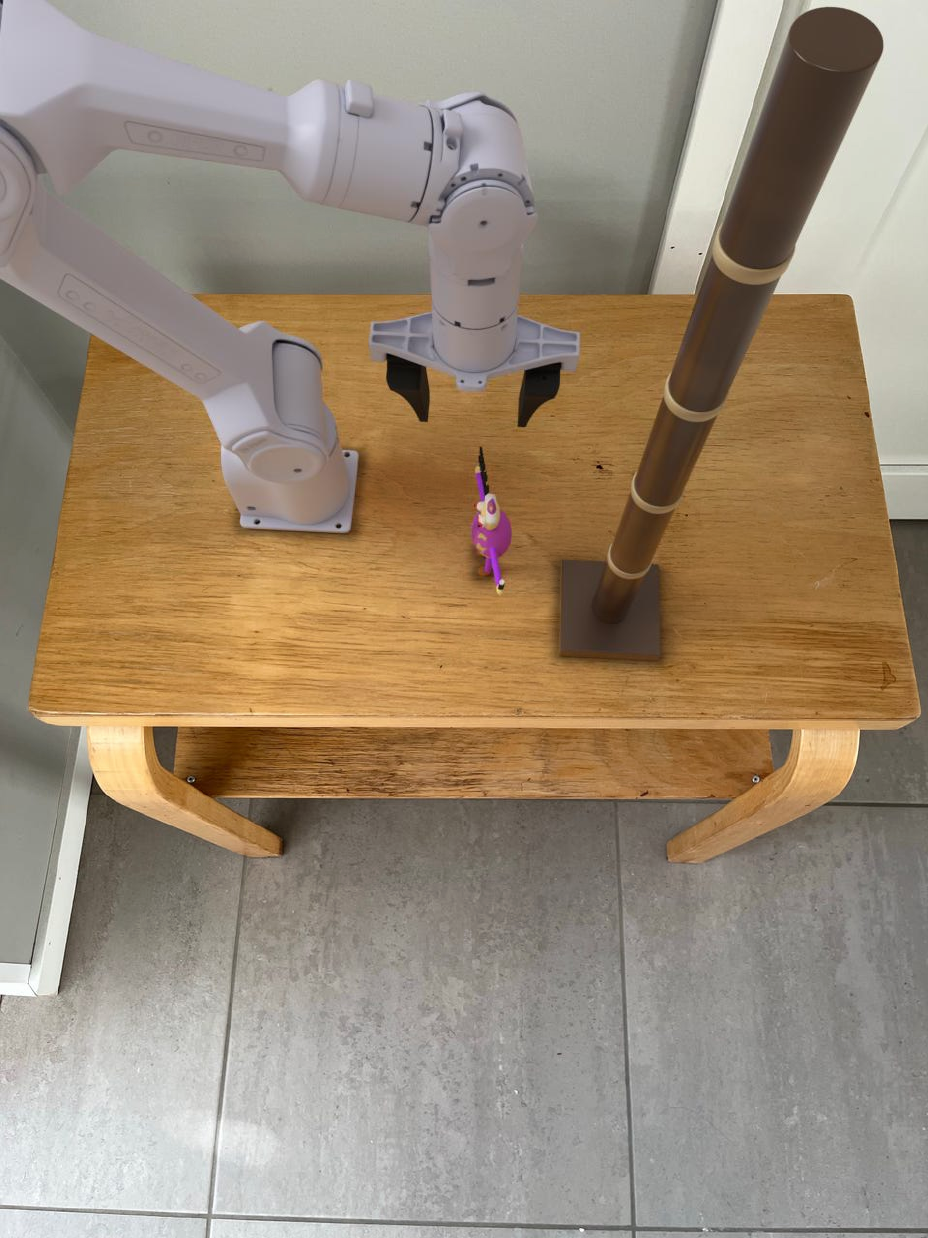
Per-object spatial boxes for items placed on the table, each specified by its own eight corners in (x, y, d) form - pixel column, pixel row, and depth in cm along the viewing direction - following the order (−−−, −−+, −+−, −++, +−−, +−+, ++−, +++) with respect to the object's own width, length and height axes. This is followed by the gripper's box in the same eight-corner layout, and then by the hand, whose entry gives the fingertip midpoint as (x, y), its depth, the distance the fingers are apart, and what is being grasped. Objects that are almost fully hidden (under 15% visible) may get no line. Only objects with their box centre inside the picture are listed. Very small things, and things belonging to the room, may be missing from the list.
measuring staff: (558, 656, 74) (716, 125, 28) (560, 566, 77) (705, -51, 31) (657, 661, 74) (982, 136, 28) (655, 571, 77) (947, -43, 30)
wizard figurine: (461, 507, 79) (460, 430, 68) (497, 502, 79) (503, 425, 68) (481, 627, 75) (484, 567, 64) (519, 621, 75) (529, 560, 64)
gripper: (356, 338, 58) (376, 452, 70) (586, 350, 57) (564, 463, 70) (367, 250, 60) (384, 376, 73) (588, 261, 60) (566, 385, 73)
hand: (473, 413), depth 72 cm, fingers open, 7 cm apart
